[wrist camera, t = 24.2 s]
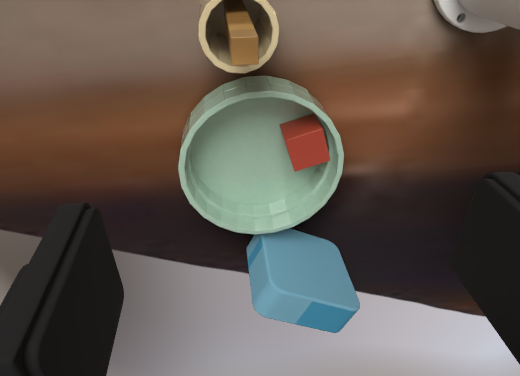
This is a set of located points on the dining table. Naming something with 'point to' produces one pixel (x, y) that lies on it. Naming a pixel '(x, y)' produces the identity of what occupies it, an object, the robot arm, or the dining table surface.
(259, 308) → the data package
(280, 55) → the dining table surface
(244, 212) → the bowl
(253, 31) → the stick
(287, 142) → the block
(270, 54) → the crock
